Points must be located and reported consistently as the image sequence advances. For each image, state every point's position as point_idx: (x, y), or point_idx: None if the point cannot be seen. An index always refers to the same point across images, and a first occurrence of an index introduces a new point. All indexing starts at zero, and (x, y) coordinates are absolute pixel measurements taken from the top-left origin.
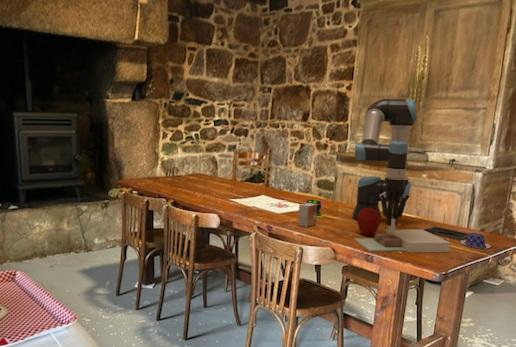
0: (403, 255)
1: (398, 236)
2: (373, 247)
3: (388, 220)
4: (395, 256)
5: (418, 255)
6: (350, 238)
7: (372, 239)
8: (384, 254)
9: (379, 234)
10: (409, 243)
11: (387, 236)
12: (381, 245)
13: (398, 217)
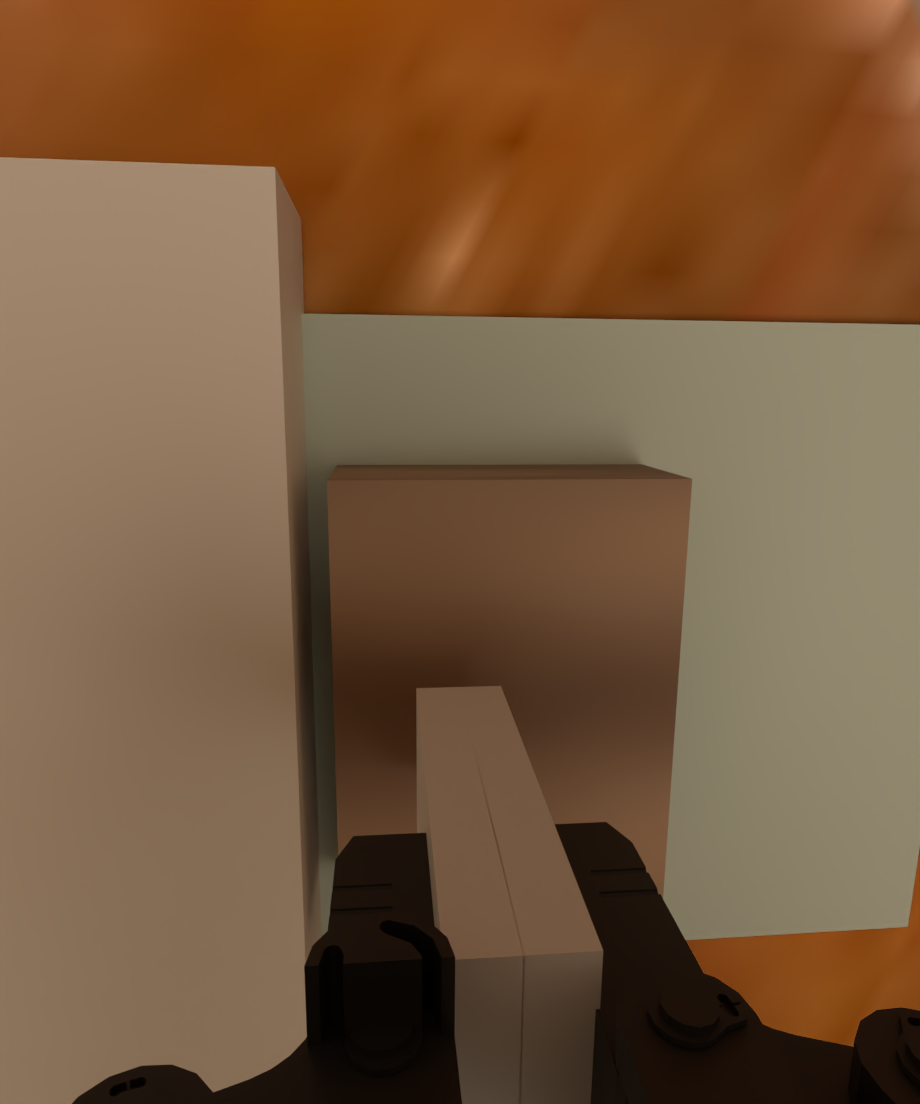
0: (489, 64)
1: (285, 693)
2: (851, 464)
3: (681, 948)
4: (672, 21)
5: (184, 33)
6: (905, 978)
7: None
8: (808, 154)
9: None
10: (275, 172)
11: None
12: None
13: (305, 993)
